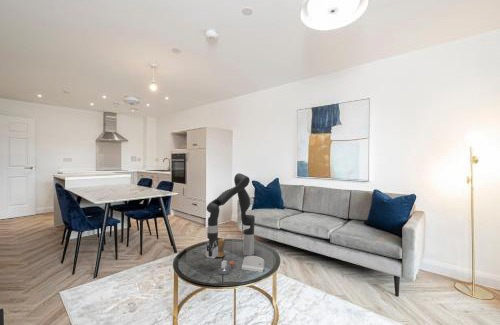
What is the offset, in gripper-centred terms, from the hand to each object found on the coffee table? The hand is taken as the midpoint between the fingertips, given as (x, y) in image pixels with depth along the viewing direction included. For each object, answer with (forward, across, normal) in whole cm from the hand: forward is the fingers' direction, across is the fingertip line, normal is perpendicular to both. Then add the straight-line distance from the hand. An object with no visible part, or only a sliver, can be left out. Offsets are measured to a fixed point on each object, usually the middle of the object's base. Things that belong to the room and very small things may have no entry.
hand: (212, 254), depth 171 cm
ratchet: (+11, +4, -10) cm, 15 cm away
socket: (+1, 0, 0) cm, 1 cm away
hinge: (+11, +12, -27) cm, 32 cm away
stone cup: (+11, +27, +10) cm, 31 cm away
